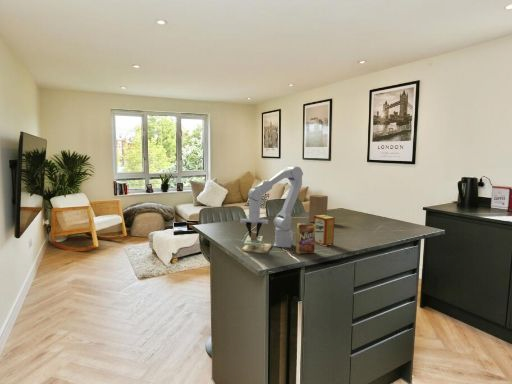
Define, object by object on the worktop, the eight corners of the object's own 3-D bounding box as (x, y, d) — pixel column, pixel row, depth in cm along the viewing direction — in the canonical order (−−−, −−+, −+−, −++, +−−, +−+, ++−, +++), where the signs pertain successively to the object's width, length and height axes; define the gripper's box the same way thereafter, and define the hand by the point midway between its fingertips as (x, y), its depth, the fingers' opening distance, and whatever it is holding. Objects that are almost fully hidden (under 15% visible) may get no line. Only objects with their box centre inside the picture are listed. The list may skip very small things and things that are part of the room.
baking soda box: (333, 245, 183) (334, 217, 182) (324, 246, 180) (326, 218, 178) (321, 241, 191) (322, 214, 190) (313, 242, 188) (314, 215, 186)
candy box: (297, 254, 165) (298, 224, 163) (295, 251, 169) (296, 222, 167) (314, 254, 165) (315, 224, 164) (312, 251, 170) (313, 222, 168)
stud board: (272, 246, 178) (272, 240, 178) (266, 253, 165) (266, 246, 165) (248, 243, 181) (248, 238, 181) (241, 250, 168) (241, 244, 168)
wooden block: (308, 222, 245) (309, 195, 242) (315, 220, 252) (316, 194, 250) (320, 224, 238) (321, 197, 236) (326, 222, 246) (328, 195, 243)
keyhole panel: (262, 237, 180) (262, 229, 179) (260, 245, 167) (260, 236, 166) (247, 237, 181) (247, 228, 180) (244, 244, 168) (244, 235, 167)
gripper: (268, 210, 174) (267, 235, 176) (241, 209, 176) (241, 234, 177) (267, 212, 168) (267, 238, 169) (239, 211, 169) (239, 237, 171)
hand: (253, 236), depth 173 cm, fingers closed on keyhole panel, 3 cm apart
